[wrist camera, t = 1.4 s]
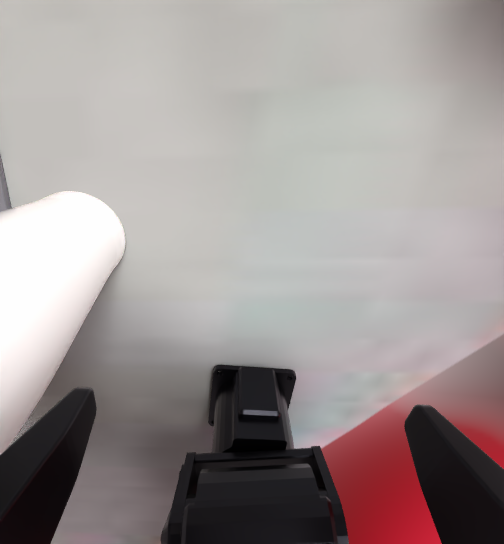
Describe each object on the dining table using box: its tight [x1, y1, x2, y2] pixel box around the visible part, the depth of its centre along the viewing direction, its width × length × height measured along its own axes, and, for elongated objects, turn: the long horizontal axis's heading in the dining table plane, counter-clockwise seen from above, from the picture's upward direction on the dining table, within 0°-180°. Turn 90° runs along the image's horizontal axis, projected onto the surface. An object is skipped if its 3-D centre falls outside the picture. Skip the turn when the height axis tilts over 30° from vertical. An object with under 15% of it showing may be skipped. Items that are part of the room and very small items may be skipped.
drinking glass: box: [0, 191, 126, 455], centre depth 13 cm, size 7×7×15 cm
